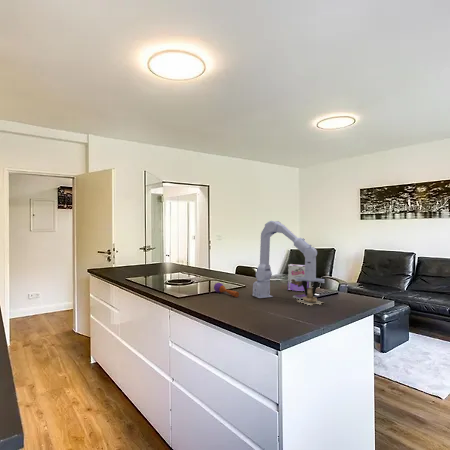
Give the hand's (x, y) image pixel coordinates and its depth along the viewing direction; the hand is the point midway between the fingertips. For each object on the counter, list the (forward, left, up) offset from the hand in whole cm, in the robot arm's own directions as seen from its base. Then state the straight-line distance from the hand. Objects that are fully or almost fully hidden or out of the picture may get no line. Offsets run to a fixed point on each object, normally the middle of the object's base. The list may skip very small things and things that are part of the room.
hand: (310, 295), depth 171 cm
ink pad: (+3, +11, -4) cm, 11 cm away
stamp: (0, 0, -3) cm, 3 cm away
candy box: (+15, +29, -4) cm, 32 cm away
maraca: (-33, +36, -4) cm, 49 cm away
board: (0, 0, -4) cm, 4 cm away
